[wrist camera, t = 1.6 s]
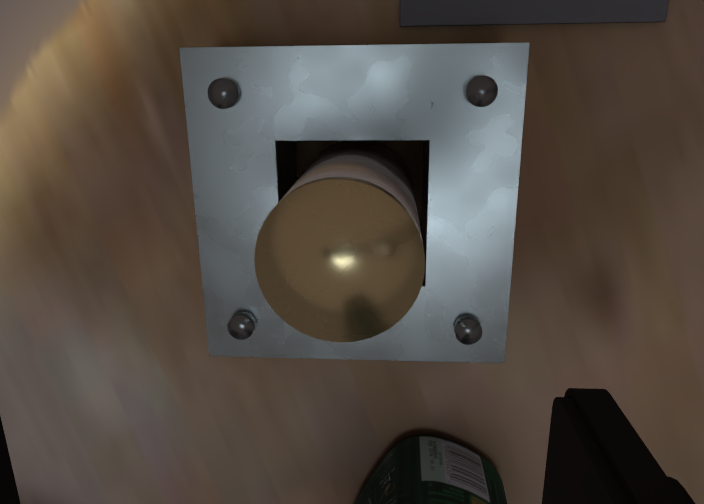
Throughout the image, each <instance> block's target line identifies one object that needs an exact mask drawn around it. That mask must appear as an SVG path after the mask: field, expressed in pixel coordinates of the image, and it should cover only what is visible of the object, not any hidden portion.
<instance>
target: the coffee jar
mask: <svg viewBox="0 0 704 504" xmlns="http://www.w3.org/2000/svg"><path fill="white" fill-rule="evenodd" d="M355 504H507V501H506V496H505V491H504V487H503V483H502V480H501V477H500V475H499V473H498V472H497V470H496V469H495V468H494V467H493V466H492V465H491V464H490V463H489V462H488V461H487V460H485V459H484V458H483V457H481V456H480V455H478V454H477V453H475V452H474V451H472V450H470V449H468V448H466V447H465V446H463V445H461V444H458V443H456V442H454V441H451V440H448V439H444V438H440V437H436V436H430V435H420V436H413V437H409V438H406V439H404V440H402V441H401V442H399V443H398V444H397V445H395V446H394V447H393V448H392V449H391V450H390V451H389V453H388V454H387V455H386V456H385V457H384V458H383V460H382V461H381V462H380V463H379V464H378V466H377V467H376V469H375V470H374V471H373V473H372V475H371V476H370V478H369V479H368V481H367V482H366V484H365V486H364V487H363V489H362V491H361V493H360V495H359V497H358V499H357V501H356V503H355Z"/></svg>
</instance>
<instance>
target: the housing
mask: <svg viewBox="0 0 704 504" xmlns="http://www.w3.org/2000/svg"><path fill="white" fill-rule="evenodd" d="M179 50H180V60H181V70H182V80H183V91H184V101H185V111H186V122H187V132H188V142H189V152H190V163H191V173H192V183H193V194H194V204H195V214H196V225H197V235H198V245H199V255H200V266H201V276H202V286H203V297H204V307H205V317H206V327H207V338H208V348H209V356H230V357H272V358H314V359H356V360H399V361H441V362H483V363H504V361H505V349H506V336H507V323H508V310H509V298H510V285H511V272H512V260H513V247H514V234H515V221H516V209H517V196H518V183H519V170H520V158H521V145H522V132H523V120H524V107H525V94H526V81H527V69H528V56H529V43H468V44H400V45H331V46H263V47H195V48H179ZM310 140H423V177H422V215H421V236H422V242H423V248H424V254H425V273H424V279H423V283H422V287H421V290H420V292H419V295H418V297H417V299H416V301H415V302H414V304H413V306H412V307H411V309H410V310H409V311H408V312H407V314H406V315H405V316H404V317H403V318H402V319H401V320H400V321H399V322H398V323H396V324H395V325H394V326H392V327H391V328H390V329H388V330H386V331H384V332H383V333H381V334H379V335H376V336H374V337H371V338H368V339H364V340H360V341H354V342H330V341H325V340H320V339H316V338H313V337H310V336H308V335H306V334H303V333H301V332H299V331H298V330H296V329H294V328H293V327H291V326H290V325H288V324H287V323H286V322H285V321H283V320H282V319H281V318H280V317H279V316H278V315H277V314H276V313H275V312H274V310H273V309H272V308H271V307H270V305H269V304H268V302H267V301H266V299H265V297H264V296H263V294H262V291H261V289H260V287H259V284H258V280H257V277H256V272H255V264H254V253H255V246H256V241H257V237H258V234H259V231H260V229H261V227H262V224H263V222H264V221H265V219H266V218H267V216H268V214H269V213H270V212H271V211H272V209H273V208H274V207H275V206H276V205H277V204H278V202H279V201H280V200H281V199H282V198H283V197H284V195H285V194H286V193H287V192H288V191H289V190H290V188H291V187H292V186H293V185H294V184H295V183H296V182H297V176H296V151H295V141H310Z"/></svg>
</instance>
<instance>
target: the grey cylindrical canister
mask: <svg viewBox="0 0 704 504" xmlns="http://www.w3.org/2000/svg"><path fill="white" fill-rule="evenodd" d="M254 264H255V272H256V277H257V280H258V284H259V287H260V289H261V291H262V294H263V296H264V297H265V299H266V301H267V302H268V304H269V305H270V307H271V308H272V309H273V310H274V312H275V313H276V314H277V315H278V316H279V317H280V318H281V319H282V320H283V321H285V322H286V323H287V324H288V325H290V326H291V327H293V328H294V329H296V330H298V331H299V332H301V333H303V334H306V335H308V336H310V337H313V338H316V339H320V340H325V341H330V342H354V341H360V340H364V339H368V338H371V337H374V336H376V335H379V334H381V333H383V332H384V331H386V330H388V329H390V328H391V327H392V326H394V325H395V324H396V323H398V322H399V321H400V320H401V319H402V318H403V317H404V316H405V315H406V314H407V312H408V311H409V310H410V309H411V307H412V306H413V304H414V302H415V301H416V299H417V297H418V295H419V292H420V290H421V287H422V283H423V279H424V273H425V254H424V248H423V242H422V236H421V230H420V224H419V218H418V212H417V206H416V200H415V194H414V188H413V183H412V178H411V175H410V172H409V170H408V167H407V165H406V164H405V162H404V161H403V159H402V158H401V157H400V156H399V155H398V154H397V153H396V152H395V151H394V150H393V149H392V148H390V147H389V146H387V145H385V144H383V143H381V142H379V141H376V140H342V141H339V142H337V143H335V144H333V145H331V146H329V147H328V148H327V149H325V150H324V151H323V152H322V153H321V154H320V155H319V156H318V157H317V158H316V160H315V161H314V162H313V163H312V164H311V165H310V166H309V168H308V169H307V170H306V171H305V172H304V173H303V175H302V176H301V177H300V178H299V179H298V180H297V182H296V183H295V184H294V185H293V186H292V187H291V188H290V190H289V191H288V192H287V193H286V194H285V195H284V197H283V198H282V199H281V200H280V201H279V202H278V204H277V205H276V206H275V207H274V208H273V209H272V211H271V212H270V213H269V214H268V216H267V218H266V219H265V221H264V222H263V224H262V227H261V229H260V231H259V234H258V237H257V241H256V246H255V253H254Z"/></svg>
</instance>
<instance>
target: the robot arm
mask: <svg viewBox="0 0 704 504" xmlns="http://www.w3.org/2000/svg"><path fill="white" fill-rule="evenodd" d="M0 504H20V500H19V496H18V491H17V487H16V483H15V478H14V474H13V469H12V465H11V461H10V456H9V452H8V448H7V443H6V439H5V434H4V430H3V426H2V421H1V417H0ZM542 504H695V503H694V501H693V500H692V498H691V497H690V496H689V494H688V493H687V491H686V490H685V489H684V487H683V486H682V485H681V484H680V483H679V482H678V481H677V480H676V479H673V478H671V477H667V476H666V475H665V473H664V472H663V470H662V469H661V467H660V466H659V464H658V463H657V461H656V460H655V459H654V457H653V456H652V454H651V453H650V451H649V450H648V448H647V447H646V446H645V444H644V443H643V441H642V440H641V438H640V437H639V435H638V434H637V432H636V431H635V430H634V428H633V427H632V425H631V424H630V422H629V421H628V419H627V418H626V416H625V415H624V414H623V412H622V411H621V409H620V408H619V406H618V405H617V403H616V402H615V400H614V399H613V398H612V396H611V395H610V393H609V392H608V391H607V390H605V389H578V388H569V389H568V390H566V393H565V396H564V397H556V398H555V399H554V401H553V406H552V415H551V424H550V434H549V443H548V452H547V461H546V470H545V480H544V489H543V498H542Z"/></svg>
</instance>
